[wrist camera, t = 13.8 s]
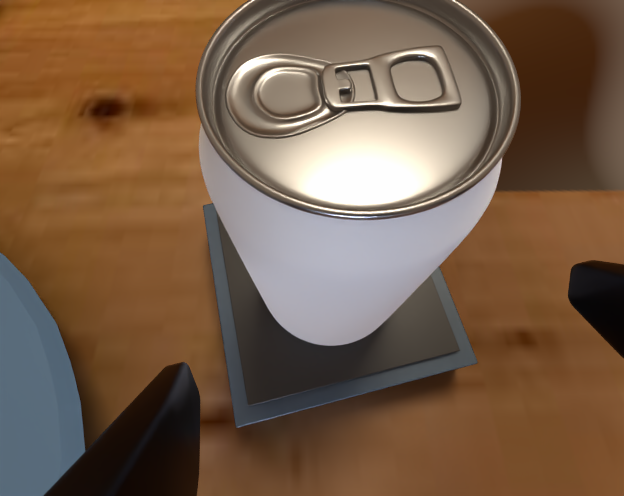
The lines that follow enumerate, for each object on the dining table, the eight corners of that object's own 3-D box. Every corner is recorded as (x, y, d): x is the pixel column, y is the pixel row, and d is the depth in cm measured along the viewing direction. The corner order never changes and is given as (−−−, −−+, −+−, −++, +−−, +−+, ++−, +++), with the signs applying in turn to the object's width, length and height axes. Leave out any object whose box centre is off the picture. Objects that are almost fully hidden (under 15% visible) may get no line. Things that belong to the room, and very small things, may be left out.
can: (257, 225, 18) (172, -30, 7) (382, 211, 19) (482, -56, 8) (267, 356, 16) (162, 269, 5) (410, 338, 16) (616, 217, 5)
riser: (456, 367, 19) (481, 362, 16) (246, 423, 18) (234, 428, 15) (389, 188, 23) (399, 160, 20) (215, 226, 22) (200, 202, 19)
